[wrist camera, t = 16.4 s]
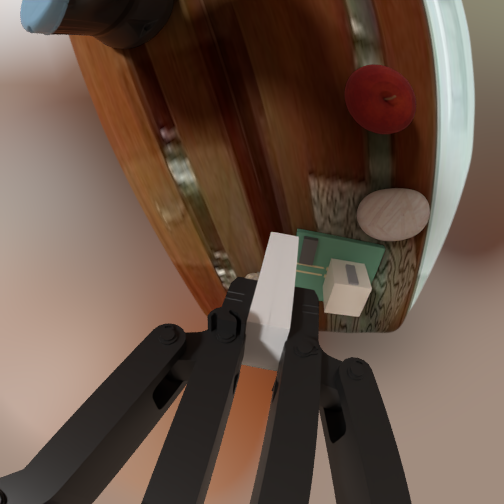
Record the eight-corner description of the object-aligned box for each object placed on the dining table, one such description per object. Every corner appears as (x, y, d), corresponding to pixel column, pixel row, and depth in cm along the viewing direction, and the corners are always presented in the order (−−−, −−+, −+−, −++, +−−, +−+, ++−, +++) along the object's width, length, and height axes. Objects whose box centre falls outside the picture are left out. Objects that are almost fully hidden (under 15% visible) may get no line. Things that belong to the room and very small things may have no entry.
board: (284, 290, 54) (282, 304, 51) (297, 228, 46) (296, 240, 43) (360, 303, 52) (362, 317, 49) (383, 245, 45) (389, 258, 41)
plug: (322, 286, 50) (324, 312, 44) (331, 256, 46) (335, 281, 41) (354, 291, 50) (359, 316, 44) (365, 262, 46) (372, 286, 40)
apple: (370, 141, 36) (388, 153, 28) (325, 96, 34) (332, 94, 26) (410, 103, 31) (438, 107, 23) (366, 57, 29) (384, 46, 21)
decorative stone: (353, 231, 45) (357, 246, 41) (355, 181, 40) (361, 192, 36) (419, 232, 42) (428, 247, 38) (426, 185, 38) (438, 195, 33)
